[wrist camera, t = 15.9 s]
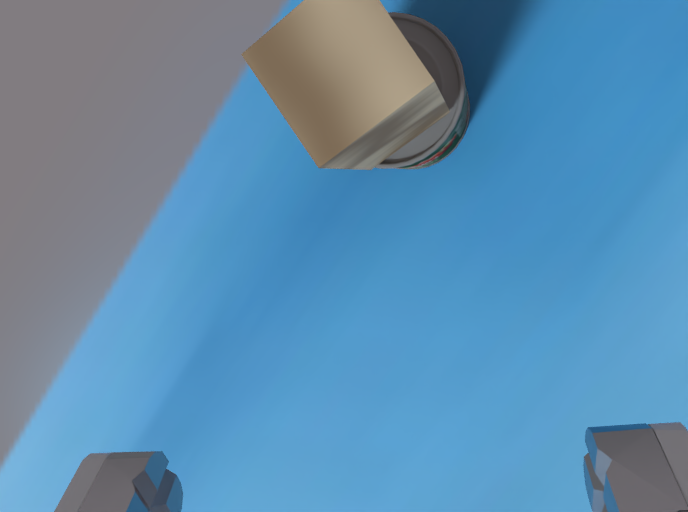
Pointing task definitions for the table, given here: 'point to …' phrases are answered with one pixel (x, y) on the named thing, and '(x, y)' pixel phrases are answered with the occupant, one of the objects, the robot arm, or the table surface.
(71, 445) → the table surface
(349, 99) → the oak block
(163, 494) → the robot arm
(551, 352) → the table surface
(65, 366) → the table surface
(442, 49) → the canned tomato
